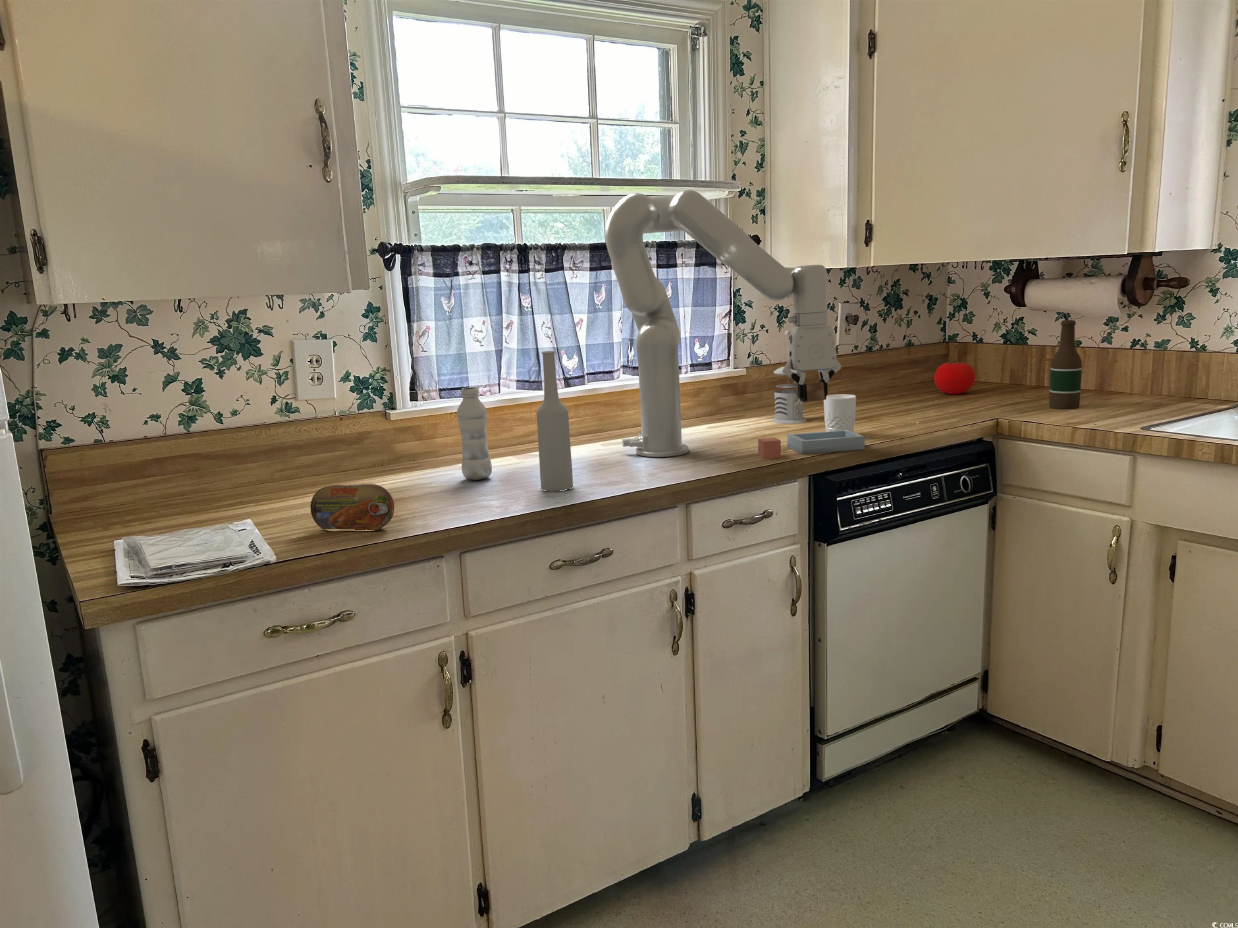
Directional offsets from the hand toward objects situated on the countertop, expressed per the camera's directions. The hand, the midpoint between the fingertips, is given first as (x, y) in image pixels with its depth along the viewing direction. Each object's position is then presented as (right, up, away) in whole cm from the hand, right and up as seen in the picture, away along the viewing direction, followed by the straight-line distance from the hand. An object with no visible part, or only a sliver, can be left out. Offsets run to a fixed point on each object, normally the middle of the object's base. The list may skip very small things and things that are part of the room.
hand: (812, 399), depth 210 cm
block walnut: (0, 0, 0) cm, 1 cm away
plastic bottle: (-76, -19, -12) cm, 79 cm away
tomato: (+62, +7, +78) cm, 100 cm away
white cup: (+10, -8, +17) cm, 21 cm away
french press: (+3, -3, +43) cm, 43 cm away
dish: (+4, -11, +3) cm, 12 cm away
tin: (-92, -27, -48) cm, 107 cm away
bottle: (-58, -20, -24) cm, 66 cm away
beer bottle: (+79, +1, +42) cm, 89 cm away
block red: (-11, -13, -3) cm, 17 cm away
